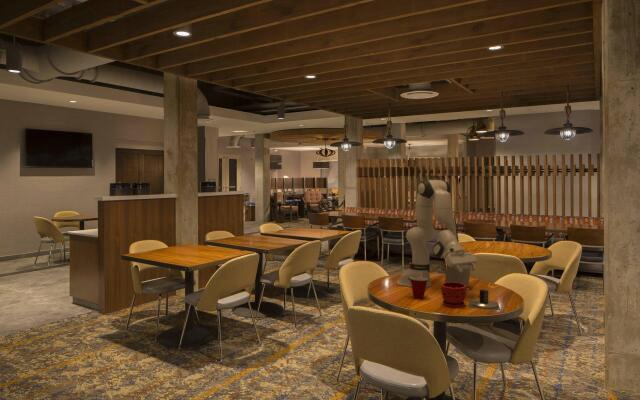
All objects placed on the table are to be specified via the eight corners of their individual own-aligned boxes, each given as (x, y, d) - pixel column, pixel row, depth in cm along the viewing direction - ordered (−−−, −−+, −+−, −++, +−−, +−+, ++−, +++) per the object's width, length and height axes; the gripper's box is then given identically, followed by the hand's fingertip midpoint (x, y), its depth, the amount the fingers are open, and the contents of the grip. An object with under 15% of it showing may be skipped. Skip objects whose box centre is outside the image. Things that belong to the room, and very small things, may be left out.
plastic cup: (430, 296, 272) (430, 277, 271) (424, 301, 262) (425, 280, 262) (412, 294, 277) (413, 275, 277) (406, 298, 268) (407, 278, 267)
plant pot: (438, 302, 259) (438, 281, 259) (460, 302, 260) (460, 281, 260) (446, 309, 246) (446, 287, 246) (469, 308, 247) (469, 287, 247)
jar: (475, 291, 286) (476, 251, 284) (452, 291, 284) (453, 251, 283) (463, 284, 304) (463, 246, 303) (441, 284, 303) (442, 247, 302)
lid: (465, 303, 256) (465, 288, 256) (483, 300, 263) (483, 286, 262) (484, 309, 244) (484, 294, 243) (502, 306, 250) (503, 291, 250)
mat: (469, 308, 248) (469, 307, 248) (468, 300, 263) (468, 300, 263) (500, 310, 243) (500, 310, 243) (497, 302, 259) (497, 302, 259)
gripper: (466, 253, 278) (478, 272, 270) (440, 256, 269) (452, 275, 261) (472, 247, 274) (484, 266, 265) (445, 250, 265) (457, 269, 257)
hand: (468, 271), depth 263 cm, fingers open, 8 cm apart
